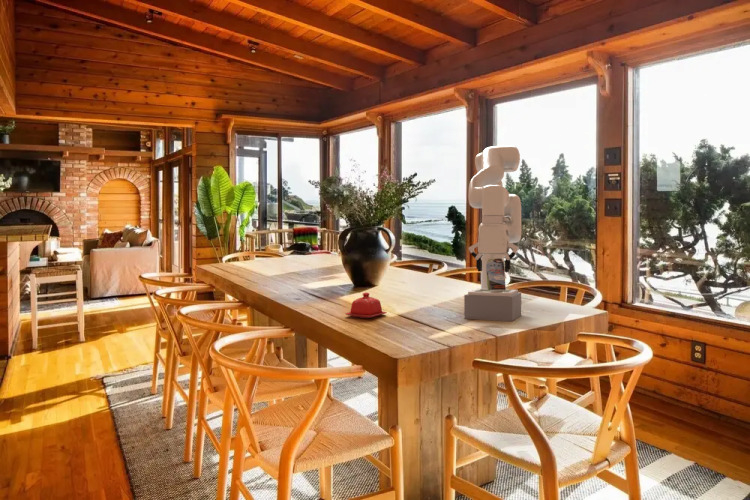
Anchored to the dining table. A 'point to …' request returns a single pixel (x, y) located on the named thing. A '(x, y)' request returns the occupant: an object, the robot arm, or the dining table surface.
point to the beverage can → (495, 275)
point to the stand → (492, 305)
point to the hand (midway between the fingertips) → (493, 271)
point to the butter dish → (366, 307)
